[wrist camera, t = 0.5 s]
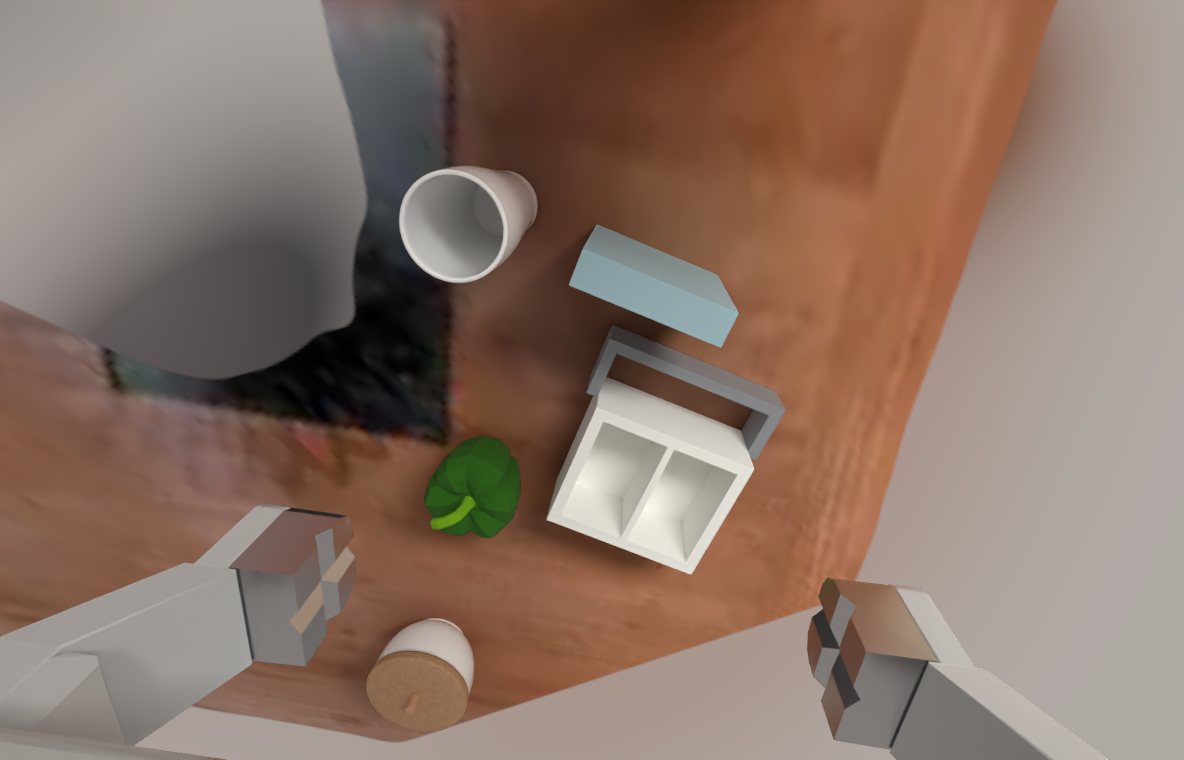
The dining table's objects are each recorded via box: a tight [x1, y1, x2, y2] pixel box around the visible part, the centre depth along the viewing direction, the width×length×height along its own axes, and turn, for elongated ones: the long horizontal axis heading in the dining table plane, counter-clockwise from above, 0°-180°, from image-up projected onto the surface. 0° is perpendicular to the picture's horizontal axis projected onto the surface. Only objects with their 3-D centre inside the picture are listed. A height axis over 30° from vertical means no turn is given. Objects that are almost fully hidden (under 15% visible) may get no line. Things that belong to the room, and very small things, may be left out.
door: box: [569, 224, 739, 348], centre depth 44 cm, size 3×11×12 cm, turn 68°
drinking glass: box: [399, 166, 538, 283], centre depth 41 cm, size 7×7×15 cm
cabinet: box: [547, 325, 786, 574], centre depth 52 cm, size 17×16×7 cm
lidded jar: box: [366, 618, 474, 732], centre depth 63 cm, size 11×11×9 cm
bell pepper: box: [424, 436, 521, 538], centre depth 53 cm, size 8×8×10 cm
